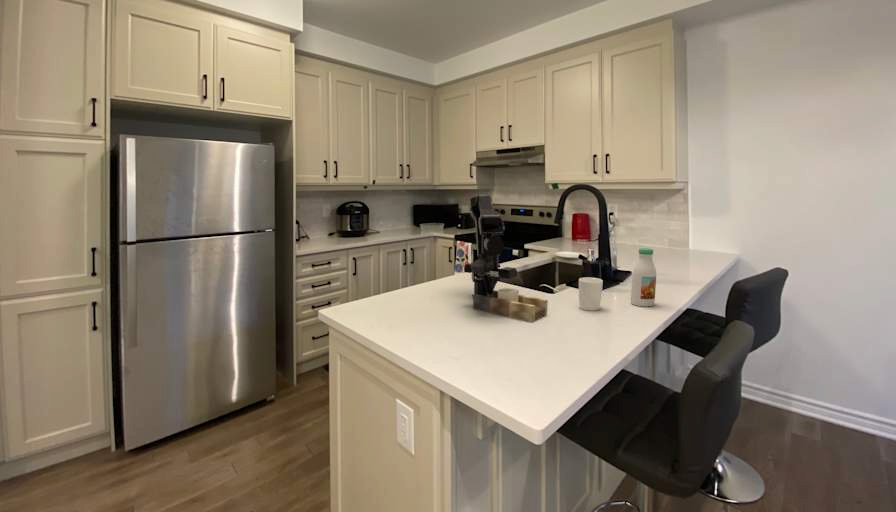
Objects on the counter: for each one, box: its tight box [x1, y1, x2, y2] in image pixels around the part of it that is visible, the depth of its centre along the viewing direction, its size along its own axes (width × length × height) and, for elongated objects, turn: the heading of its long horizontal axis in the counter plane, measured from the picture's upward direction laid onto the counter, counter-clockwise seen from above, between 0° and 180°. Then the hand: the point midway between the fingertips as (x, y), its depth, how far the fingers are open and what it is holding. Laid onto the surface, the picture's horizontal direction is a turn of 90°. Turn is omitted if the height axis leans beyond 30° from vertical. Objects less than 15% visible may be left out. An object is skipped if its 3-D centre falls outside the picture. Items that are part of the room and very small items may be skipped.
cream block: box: [497, 287, 520, 302], centre depth 142 cm, size 5×5×5 cm
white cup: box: [578, 276, 604, 311], centre depth 145 cm, size 8×8×10 cm
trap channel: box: [472, 289, 549, 323], centre depth 142 cm, size 23×10×5 cm, turn 51°
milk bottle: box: [630, 247, 657, 308], centre depth 148 cm, size 8×8×20 cm
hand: (489, 294), depth 147 cm, fingers closed
